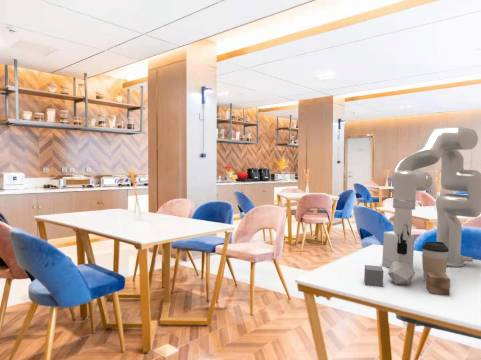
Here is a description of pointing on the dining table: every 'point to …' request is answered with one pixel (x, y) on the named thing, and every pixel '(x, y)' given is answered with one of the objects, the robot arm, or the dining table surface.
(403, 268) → the die
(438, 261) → the coffee cup
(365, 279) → the charcoal block
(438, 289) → the walnut block
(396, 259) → the supplement box
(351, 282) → the dining table surface
